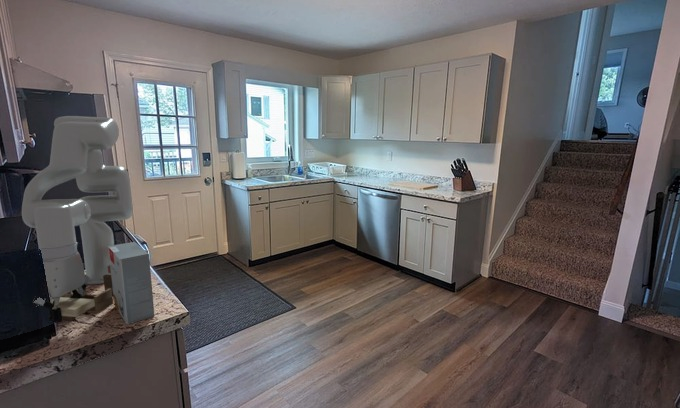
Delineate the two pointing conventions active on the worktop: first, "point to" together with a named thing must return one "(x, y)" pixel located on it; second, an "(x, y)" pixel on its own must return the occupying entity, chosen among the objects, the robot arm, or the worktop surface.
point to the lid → (74, 306)
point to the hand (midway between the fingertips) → (67, 315)
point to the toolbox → (97, 298)
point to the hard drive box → (131, 281)
